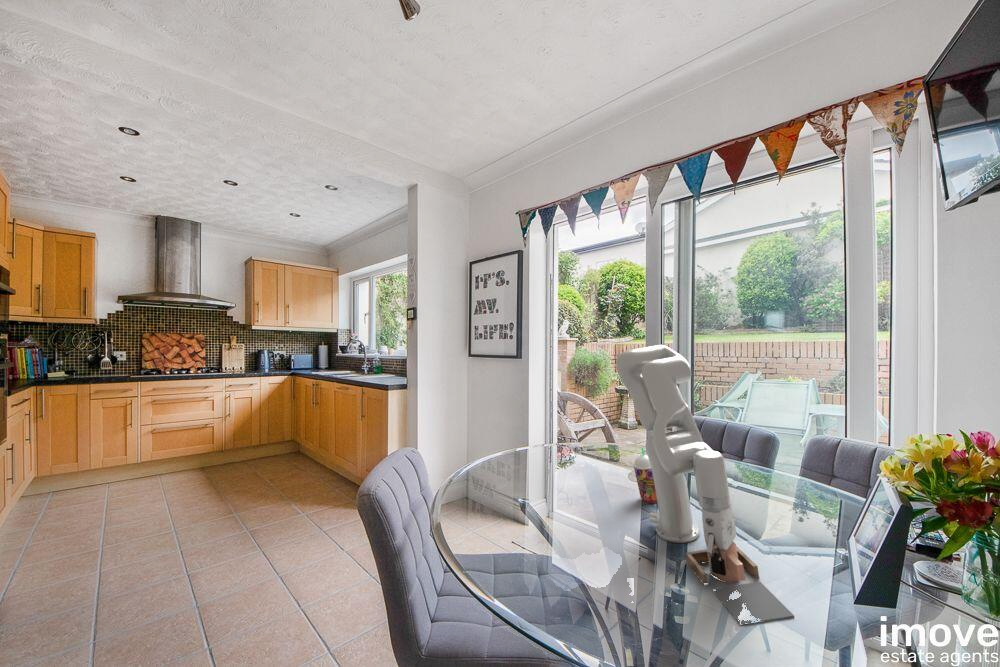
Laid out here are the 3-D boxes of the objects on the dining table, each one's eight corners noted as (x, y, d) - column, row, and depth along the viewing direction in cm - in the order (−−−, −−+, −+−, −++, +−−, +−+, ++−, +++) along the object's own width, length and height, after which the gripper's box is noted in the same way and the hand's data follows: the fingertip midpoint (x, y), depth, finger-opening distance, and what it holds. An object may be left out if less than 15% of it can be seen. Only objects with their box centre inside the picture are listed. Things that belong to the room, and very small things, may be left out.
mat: (712, 590, 103) (712, 589, 103) (760, 583, 103) (759, 581, 103) (740, 625, 92) (740, 624, 91) (794, 617, 91) (794, 615, 91)
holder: (687, 563, 116) (685, 552, 115) (736, 555, 115) (735, 544, 115) (704, 586, 106) (702, 574, 105) (759, 577, 105) (757, 565, 105)
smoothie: (650, 507, 150) (641, 453, 149) (634, 499, 157) (626, 448, 157) (667, 500, 153) (659, 447, 152) (650, 493, 161) (643, 442, 160)
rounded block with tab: (705, 567, 112) (701, 539, 112) (731, 564, 112) (726, 535, 112) (729, 597, 100) (725, 565, 100) (758, 593, 100) (753, 560, 100)
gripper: (718, 517, 99) (729, 589, 100) (739, 488, 111) (749, 553, 112) (686, 510, 105) (697, 579, 105) (710, 483, 117) (719, 545, 117)
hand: (723, 565), depth 108 cm, fingers closed on rounded block with tab, 6 cm apart
